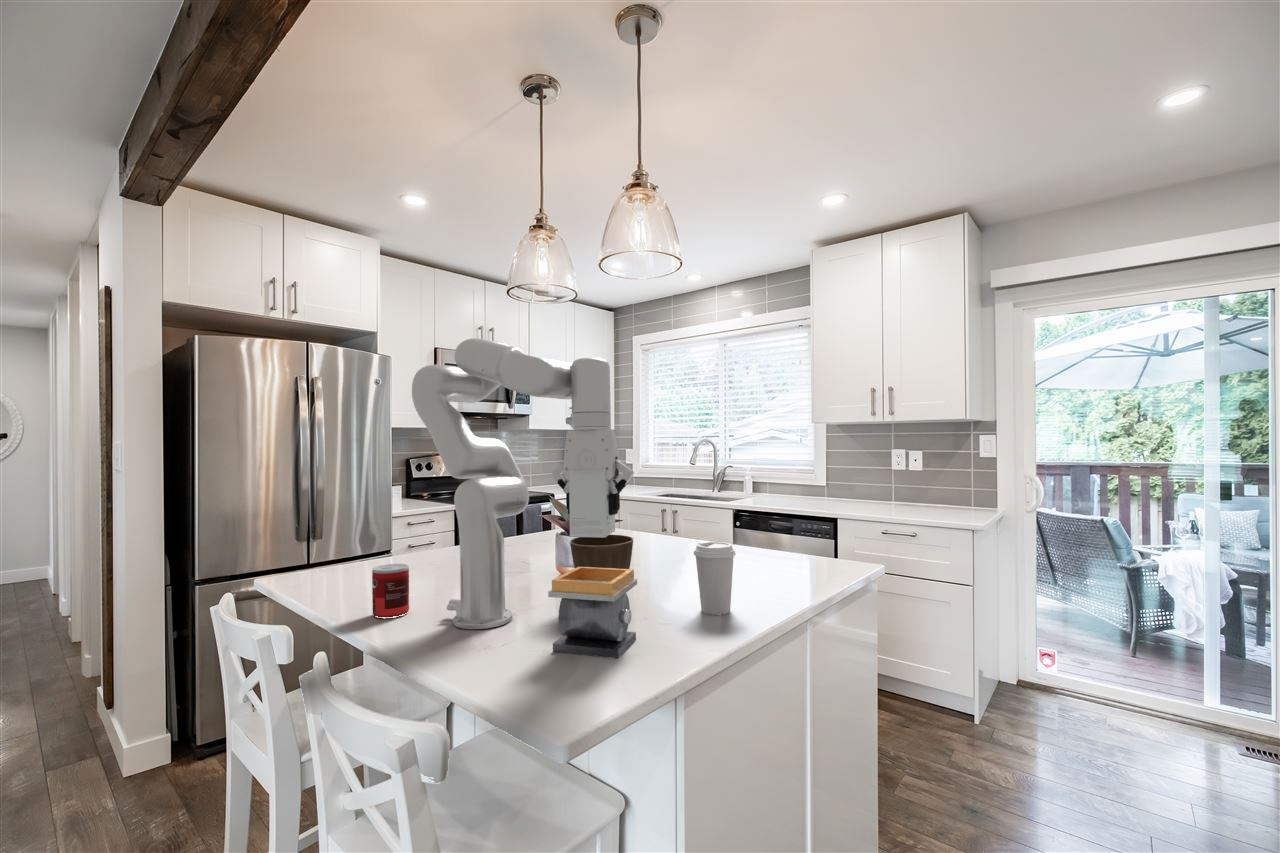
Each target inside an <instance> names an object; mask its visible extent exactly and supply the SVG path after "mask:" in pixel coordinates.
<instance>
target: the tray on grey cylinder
mask: <svg viewBox="0 0 1280 853" xmlns="http://www.w3.org/2000/svg"><path fill="white" fill-rule="evenodd" d="M637 585H638V578H635V569H631V568H629V569H616V568H596V567H577V568H575V567H574V568H572V569H570V570H569V571H568V572H567V571H566V572H565V573H563V574H562V575H559V576H557V577H555V578H553V579H551V589H550V590H549V591H548V592H547V594H548V596H547V597H548V598H558V599H560V604H559V608H558V628H559V630H560V633H561V634H562V636H561V637H560V638H558V639H557V640H556V641H554V642H553V643H552V652H553V653H563V654H573V655H584V656H593V657H603V658H610V659H611V658H612V659H619V658H620V657H621V656H622V655H624V653H625V652H626V651H627V650H628V649H629V648H630V647H631V646H632V645H633V644H634V643H635V642H636V640H637V631H636V632H635V631H628V628H629V624H631V621H632V611H631V609H630V600H629V596H628V594H627V593H628V592H629V591H630V590H632V589H633V588H634V587H636V586H637Z"/></svg>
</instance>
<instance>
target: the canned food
mask: <svg viewBox="0 0 1280 853" xmlns="http://www.w3.org/2000/svg"><path fill="white" fill-rule="evenodd" d="M371 577H372V578H371V580H372V581H371V584H372V585H371V586H372V588H371V590H372V592H371V593H372V596H371V597H372V602H371V603H372V615H374V616H378V617H393V616H399V615H402V614H405V613H407V612H408V613H409V610H410V567H409V565H408V564H405V563H387V564H381V565H377V566H374V567H373V568H372V571H371ZM408 613H407V614H408ZM374 616H373V617H374Z"/></svg>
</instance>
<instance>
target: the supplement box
mask: <svg viewBox="0 0 1280 853" xmlns="http://www.w3.org/2000/svg"><path fill="white" fill-rule="evenodd" d="M609 494H611V491H610V489H609V481H607V480H606V470H570V471H569V509H570V514H569V537H572V538H578V537H601V538H602V537H603V538H605V537H607V536H608V535H612V534H613V533H615V532H616V514H615V515H610V514H609Z"/></svg>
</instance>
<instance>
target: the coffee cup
mask: <svg viewBox="0 0 1280 853" xmlns="http://www.w3.org/2000/svg"><path fill="white" fill-rule="evenodd" d="M693 556H694V557H695V561H696V570H697V572H696V573H697V580H698V589H699V591H698V592H699V600H700V610H701V612H702V613H703V614H706V615H709V614H711V615H710V616H721V615H720V614H724V615H727V614H726V613H728V612H729V613H730V612H731V607H732V606H731V602H732V587H733V583H732V582H733V569H734V558H735V557H734V556H736V551H735V548H733V545H732V543H730V542H724V541H706V542H705V541H704V542H699V543H697V544H696V547H695V549H694V551H693ZM729 613H728V614H729ZM718 614H719V615H718Z"/></svg>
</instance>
